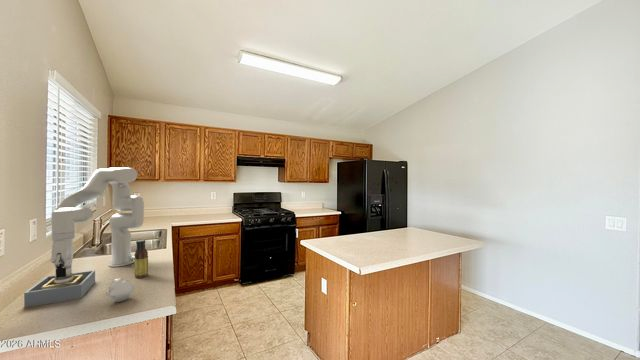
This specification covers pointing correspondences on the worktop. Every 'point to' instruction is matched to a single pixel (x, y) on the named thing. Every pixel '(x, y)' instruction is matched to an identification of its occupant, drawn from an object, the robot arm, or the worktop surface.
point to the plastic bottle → (68, 277)
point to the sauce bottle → (141, 260)
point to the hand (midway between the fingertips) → (63, 274)
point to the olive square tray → (50, 284)
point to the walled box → (58, 290)
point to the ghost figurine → (120, 290)
